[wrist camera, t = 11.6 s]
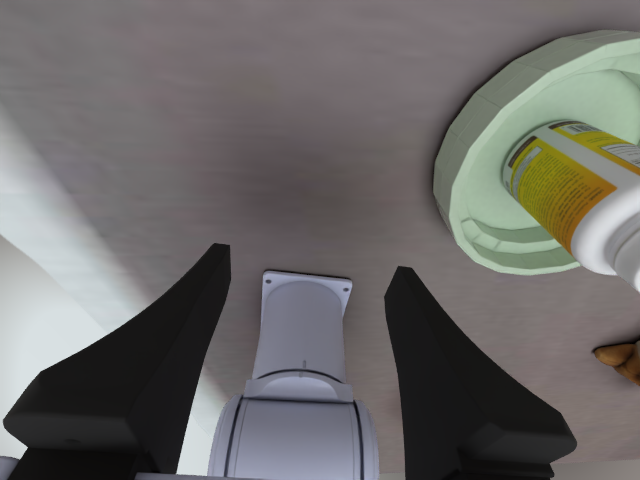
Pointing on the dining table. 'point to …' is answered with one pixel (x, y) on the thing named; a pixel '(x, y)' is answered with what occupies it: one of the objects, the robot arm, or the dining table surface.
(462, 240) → the bowl
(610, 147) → the supplement bottle
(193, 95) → the dining table surface
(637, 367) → the stuffed squirrel
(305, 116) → the dining table surface
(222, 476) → the robot arm
